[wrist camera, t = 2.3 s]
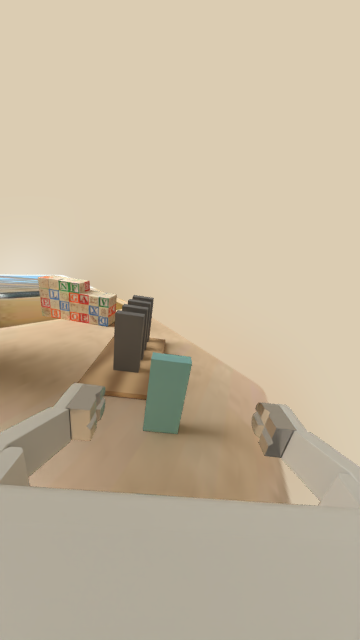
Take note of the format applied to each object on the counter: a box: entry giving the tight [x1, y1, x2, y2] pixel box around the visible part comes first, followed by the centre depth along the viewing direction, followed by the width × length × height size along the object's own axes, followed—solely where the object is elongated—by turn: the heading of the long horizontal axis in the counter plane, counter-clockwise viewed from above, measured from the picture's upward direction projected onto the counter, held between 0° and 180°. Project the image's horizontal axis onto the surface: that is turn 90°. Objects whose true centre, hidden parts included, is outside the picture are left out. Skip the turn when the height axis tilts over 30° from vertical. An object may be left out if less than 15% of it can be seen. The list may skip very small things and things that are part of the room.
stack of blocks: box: [38, 275, 117, 326], centre depth 57 cm, size 21×6×12 cm, turn 86°
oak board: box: [78, 337, 165, 400], centre depth 41 cm, size 14×22×1 cm, turn 1°
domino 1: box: [132, 295, 154, 342], centre depth 47 cm, size 5×2×12 cm, turn 91°
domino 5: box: [143, 352, 192, 434], centre depth 25 cm, size 5×2×12 cm, turn 91°
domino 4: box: [113, 310, 145, 373], centre depth 35 cm, size 5×2×12 cm, turn 91°
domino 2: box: [128, 299, 151, 351], centre depth 43 cm, size 5×2×12 cm, turn 91°
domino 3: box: [122, 304, 148, 360], centre depth 39 cm, size 5×2×12 cm, turn 91°
